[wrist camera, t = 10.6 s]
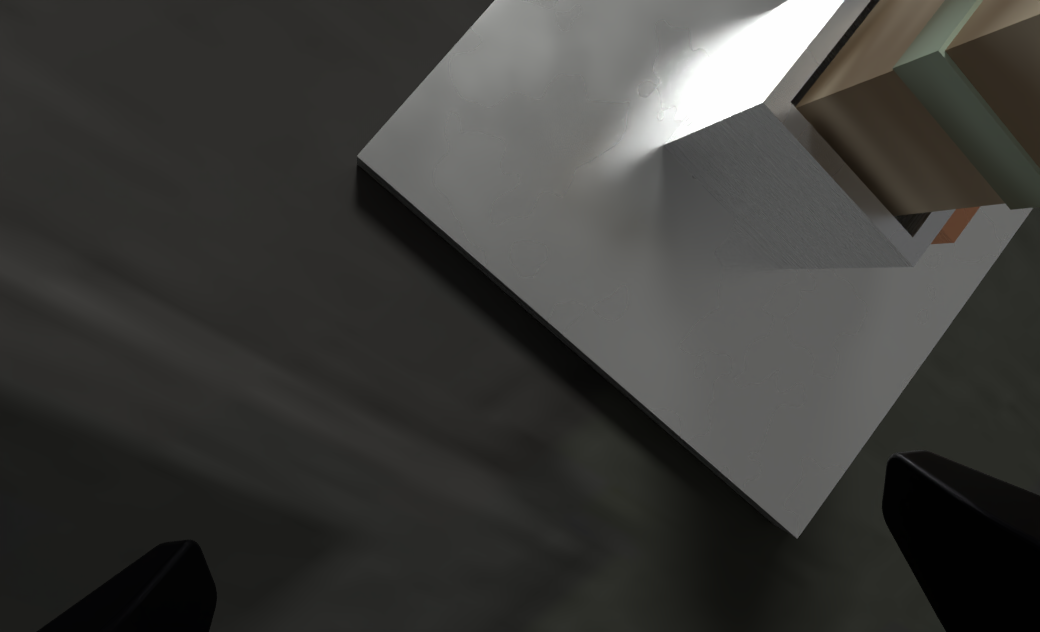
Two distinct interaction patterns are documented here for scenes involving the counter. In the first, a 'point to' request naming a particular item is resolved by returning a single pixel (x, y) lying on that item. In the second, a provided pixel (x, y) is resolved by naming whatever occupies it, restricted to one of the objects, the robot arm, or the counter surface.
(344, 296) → the counter surface
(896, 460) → the robot arm
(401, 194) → the stand
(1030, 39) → the post
